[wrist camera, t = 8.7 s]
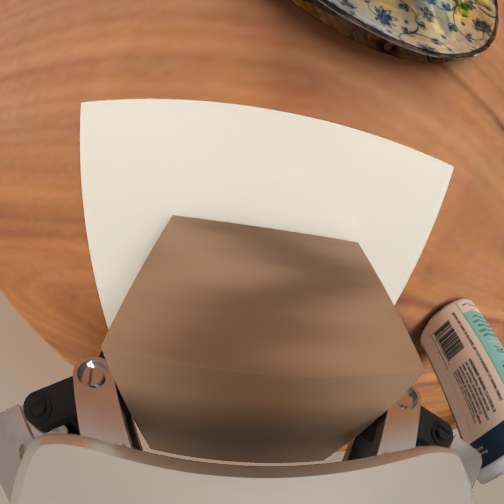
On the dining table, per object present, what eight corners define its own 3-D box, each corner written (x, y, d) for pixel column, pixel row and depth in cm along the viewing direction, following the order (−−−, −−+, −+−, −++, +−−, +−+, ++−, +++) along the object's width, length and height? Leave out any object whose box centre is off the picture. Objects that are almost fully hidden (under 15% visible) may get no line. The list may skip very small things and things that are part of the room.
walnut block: (357, 242, 10) (425, 370, 5) (308, 356, 14) (322, 460, 9) (172, 215, 10) (100, 346, 4) (175, 341, 13) (150, 448, 8)
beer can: (412, 351, 17) (461, 493, 6) (422, 307, 14) (498, 479, 4) (462, 330, 16) (519, 455, 6) (477, 285, 13) (560, 426, 3)
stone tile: (441, 160, 10) (453, 166, 9) (339, 373, 17) (342, 384, 16) (94, 100, 8) (81, 102, 7) (122, 349, 16) (118, 360, 15)
